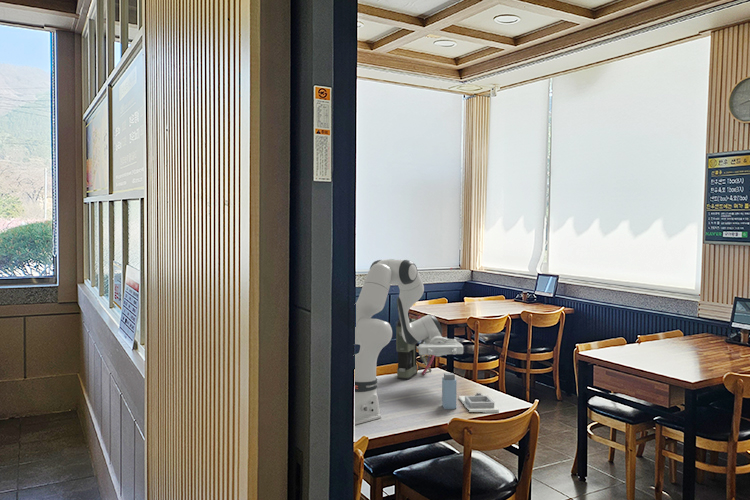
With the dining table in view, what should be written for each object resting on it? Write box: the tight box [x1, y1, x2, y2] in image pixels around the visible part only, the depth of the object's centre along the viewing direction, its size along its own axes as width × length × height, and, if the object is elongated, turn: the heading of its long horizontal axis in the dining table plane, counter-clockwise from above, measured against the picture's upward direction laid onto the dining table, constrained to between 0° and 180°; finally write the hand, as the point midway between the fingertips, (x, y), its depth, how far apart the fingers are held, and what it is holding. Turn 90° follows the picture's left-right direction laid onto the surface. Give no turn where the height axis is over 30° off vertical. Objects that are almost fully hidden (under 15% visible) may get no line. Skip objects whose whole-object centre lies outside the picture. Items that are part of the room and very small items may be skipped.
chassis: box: [458, 392, 500, 414], centre depth 242 cm, size 20×12×3 cm, turn 4°
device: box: [395, 317, 418, 381], centre depth 289 cm, size 14×8×30 cm, turn 156°
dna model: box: [417, 315, 436, 376], centre depth 296 cm, size 9×9×30 cm
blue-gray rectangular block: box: [441, 372, 457, 410], centre depth 240 cm, size 5×5×14 cm
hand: (443, 353), depth 251 cm, fingers open, 8 cm apart
